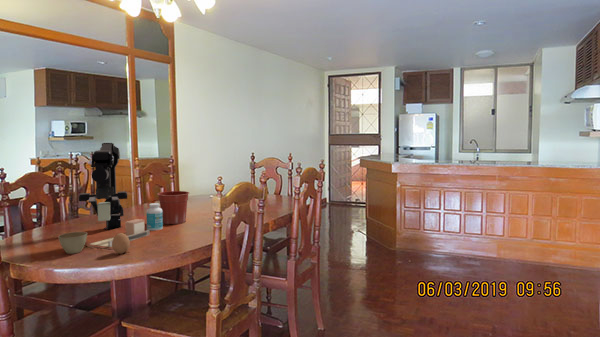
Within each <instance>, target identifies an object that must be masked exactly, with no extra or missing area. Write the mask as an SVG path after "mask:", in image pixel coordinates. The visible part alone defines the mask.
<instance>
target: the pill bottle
mask: <svg viewBox="0 0 600 337" xmlns="http://www.w3.org/2000/svg"><path fill="white" fill-rule="evenodd" d="M148 206H149V207H148V208H147V209H146V230H149V231H160V230H163V228H164V226H163V225H164V223H163V214H162V209H161V207H160V202H159V203H158V202H154V203H152V202H151V203H149V204H148Z"/></svg>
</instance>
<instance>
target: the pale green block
mask: <svg viewBox="0 0 600 337" xmlns="http://www.w3.org/2000/svg"><path fill="white" fill-rule="evenodd" d="M97 205H98V216H97V222H104V221H105V222H106V221H108V220H110V202H105V201H104V202H97Z"/></svg>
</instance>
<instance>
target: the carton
mask: <svg viewBox="0 0 600 337" xmlns="http://www.w3.org/2000/svg"><path fill="white" fill-rule="evenodd" d="M145 222H146V221H145V219H142V218H140V219H139V218H135V219H131V220H128V221H125V222H124V226H125V234H126V235H127V236H129V235H133V234H136V233H139V232H143V231H146V226H145V224H146V223H145Z"/></svg>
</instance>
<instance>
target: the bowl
mask: <svg viewBox="0 0 600 337" xmlns="http://www.w3.org/2000/svg"><path fill="white" fill-rule="evenodd" d="M87 238H88V232H85V231H72V232H66V233H62V234H60V235H58V241H59V243H60V246H61V247H62V249H63V250H64V251H65V254H68V255H75V254H79V253H80V252H82V250H83V248H84V247H85V244H86V241H87Z"/></svg>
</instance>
